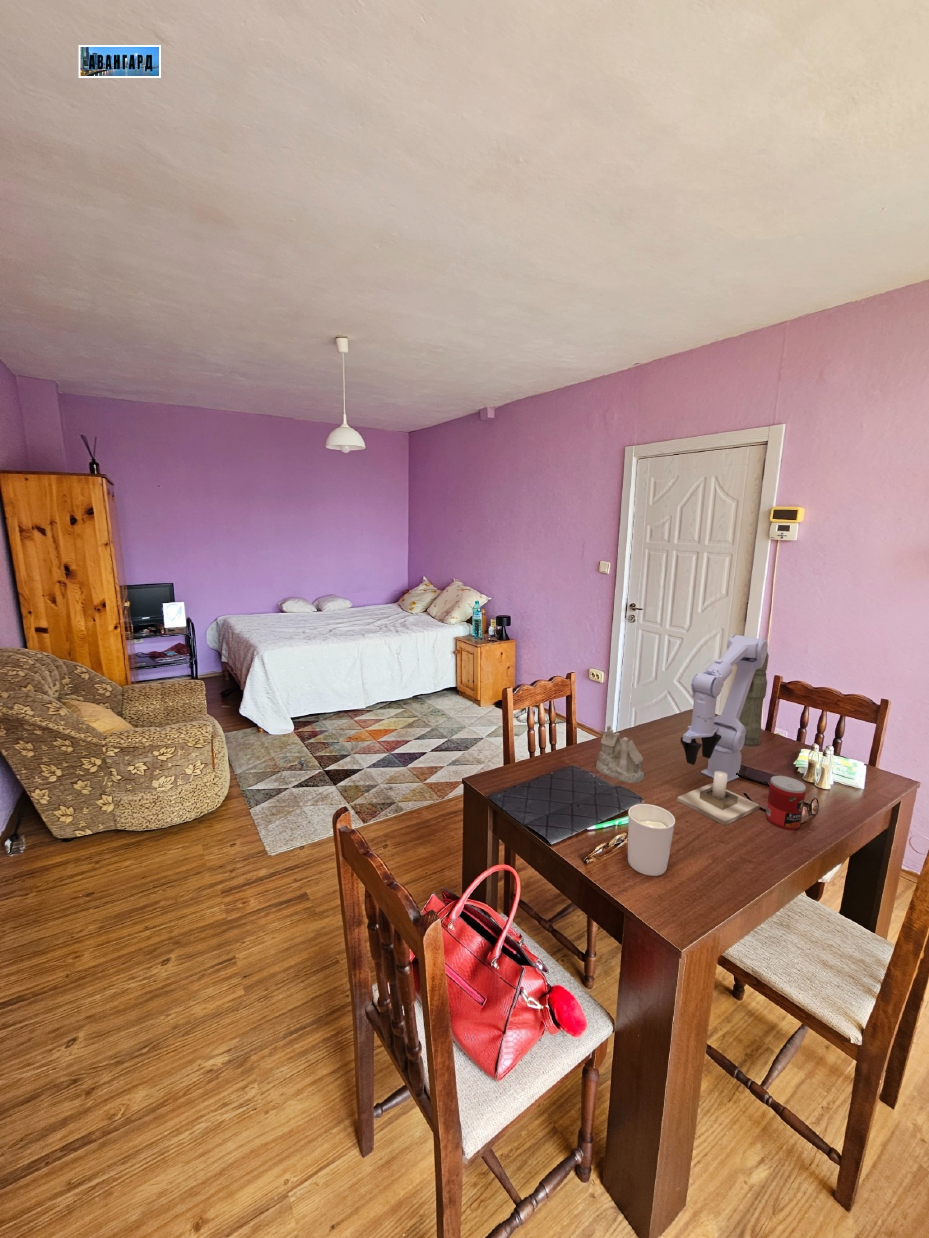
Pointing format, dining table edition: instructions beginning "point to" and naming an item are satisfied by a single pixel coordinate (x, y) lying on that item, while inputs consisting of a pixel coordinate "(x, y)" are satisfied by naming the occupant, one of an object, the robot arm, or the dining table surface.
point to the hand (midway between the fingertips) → (698, 760)
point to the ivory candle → (719, 785)
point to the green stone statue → (754, 706)
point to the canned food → (785, 802)
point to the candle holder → (649, 838)
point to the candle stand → (718, 804)
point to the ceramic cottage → (619, 758)
